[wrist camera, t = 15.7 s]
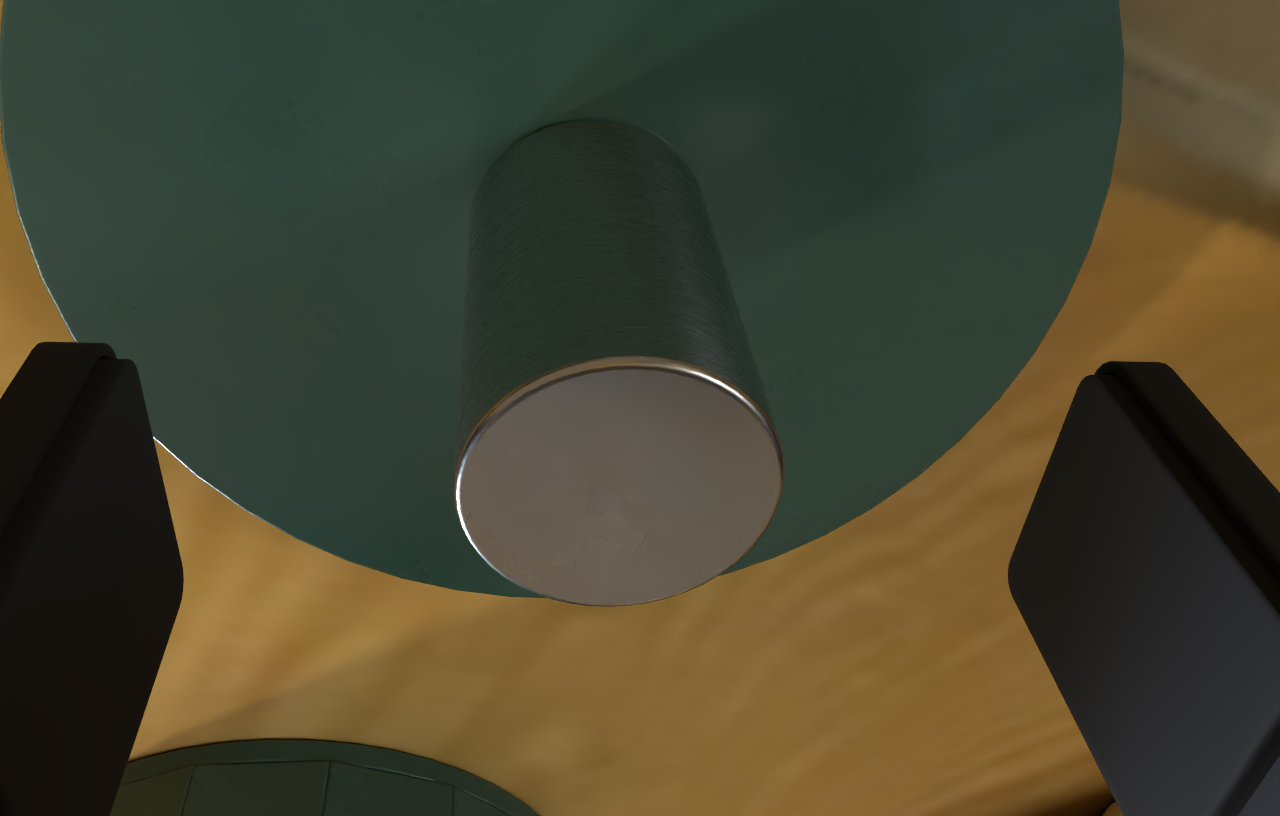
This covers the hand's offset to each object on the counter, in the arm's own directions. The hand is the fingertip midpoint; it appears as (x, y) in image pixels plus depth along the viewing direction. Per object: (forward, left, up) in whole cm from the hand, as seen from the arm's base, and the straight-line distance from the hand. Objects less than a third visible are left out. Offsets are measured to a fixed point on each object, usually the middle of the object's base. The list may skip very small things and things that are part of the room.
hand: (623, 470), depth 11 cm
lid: (0, -1, -4) cm, 4 cm away
